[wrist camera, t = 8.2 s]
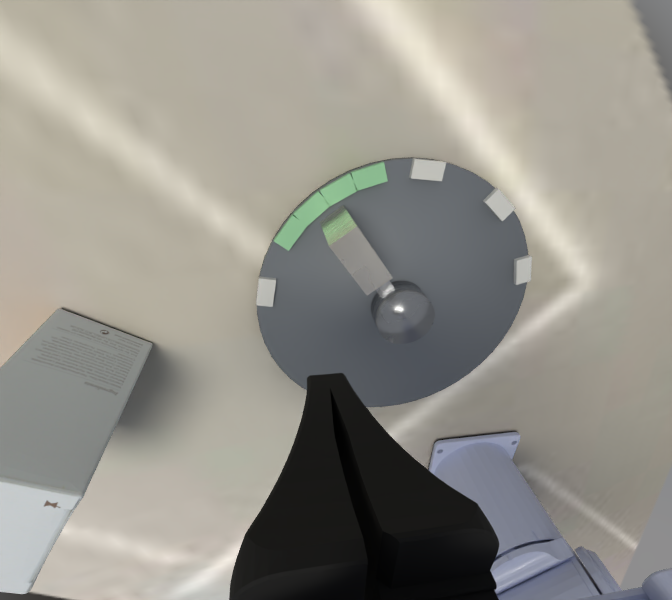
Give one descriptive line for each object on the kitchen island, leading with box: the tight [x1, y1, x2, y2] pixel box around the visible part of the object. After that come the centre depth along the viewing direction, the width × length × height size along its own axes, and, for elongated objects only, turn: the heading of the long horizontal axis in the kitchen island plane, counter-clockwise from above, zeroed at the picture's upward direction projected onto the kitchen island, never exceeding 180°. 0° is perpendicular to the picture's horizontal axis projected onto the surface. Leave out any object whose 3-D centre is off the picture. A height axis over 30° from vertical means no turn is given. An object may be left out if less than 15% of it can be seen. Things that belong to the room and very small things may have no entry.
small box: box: [0, 309, 153, 594], centre depth 19 cm, size 8×6×10 cm
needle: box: [320, 205, 435, 344], centre depth 21 cm, size 9×4×4 cm, turn 35°
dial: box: [256, 158, 532, 407], centre depth 24 cm, size 18×18×1 cm
